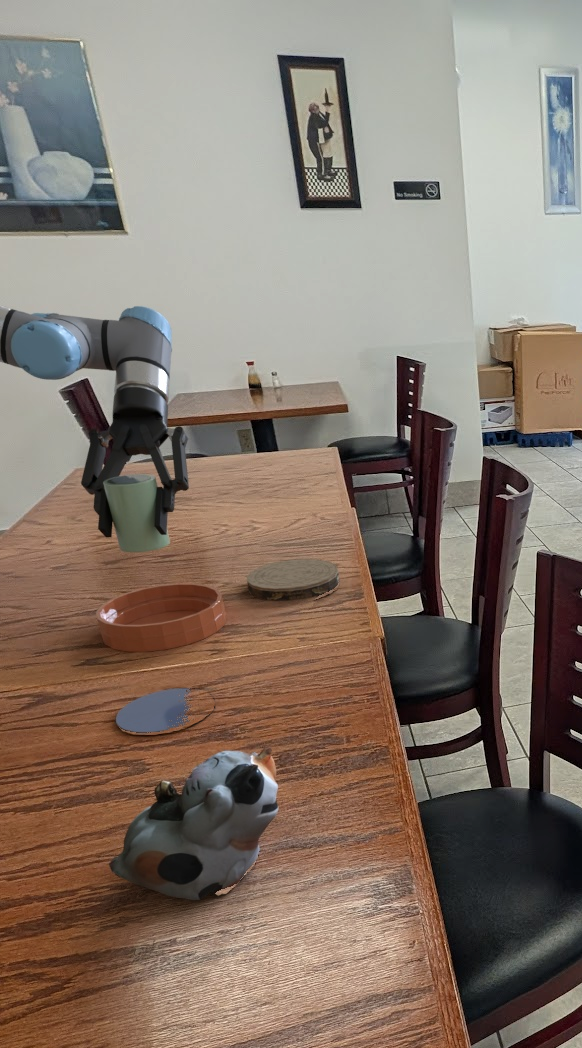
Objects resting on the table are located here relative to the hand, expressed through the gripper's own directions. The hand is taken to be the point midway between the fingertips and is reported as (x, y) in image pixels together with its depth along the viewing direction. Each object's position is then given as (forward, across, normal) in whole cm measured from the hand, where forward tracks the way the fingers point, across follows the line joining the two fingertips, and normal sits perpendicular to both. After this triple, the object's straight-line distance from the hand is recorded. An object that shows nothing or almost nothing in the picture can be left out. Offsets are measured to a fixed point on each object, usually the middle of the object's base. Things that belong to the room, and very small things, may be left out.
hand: (132, 531), depth 120 cm
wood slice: (-2, -17, -28) cm, 33 cm away
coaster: (+29, -7, +3) cm, 30 cm away
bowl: (+9, 0, -16) cm, 19 cm away
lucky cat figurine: (+52, -20, +26) cm, 61 cm away
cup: (0, 0, -5) cm, 5 cm away
